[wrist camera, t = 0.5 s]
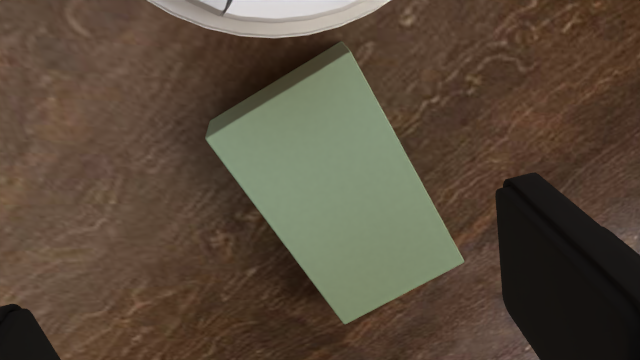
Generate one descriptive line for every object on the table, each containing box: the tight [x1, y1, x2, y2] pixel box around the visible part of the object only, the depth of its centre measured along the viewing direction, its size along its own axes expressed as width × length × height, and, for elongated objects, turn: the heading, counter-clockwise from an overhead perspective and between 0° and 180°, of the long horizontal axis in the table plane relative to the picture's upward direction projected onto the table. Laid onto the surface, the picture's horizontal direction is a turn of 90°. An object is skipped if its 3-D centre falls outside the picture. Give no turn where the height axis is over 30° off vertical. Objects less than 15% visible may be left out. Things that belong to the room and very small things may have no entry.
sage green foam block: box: [205, 41, 464, 324], centre depth 26 cm, size 13×7×2 cm, turn 30°
